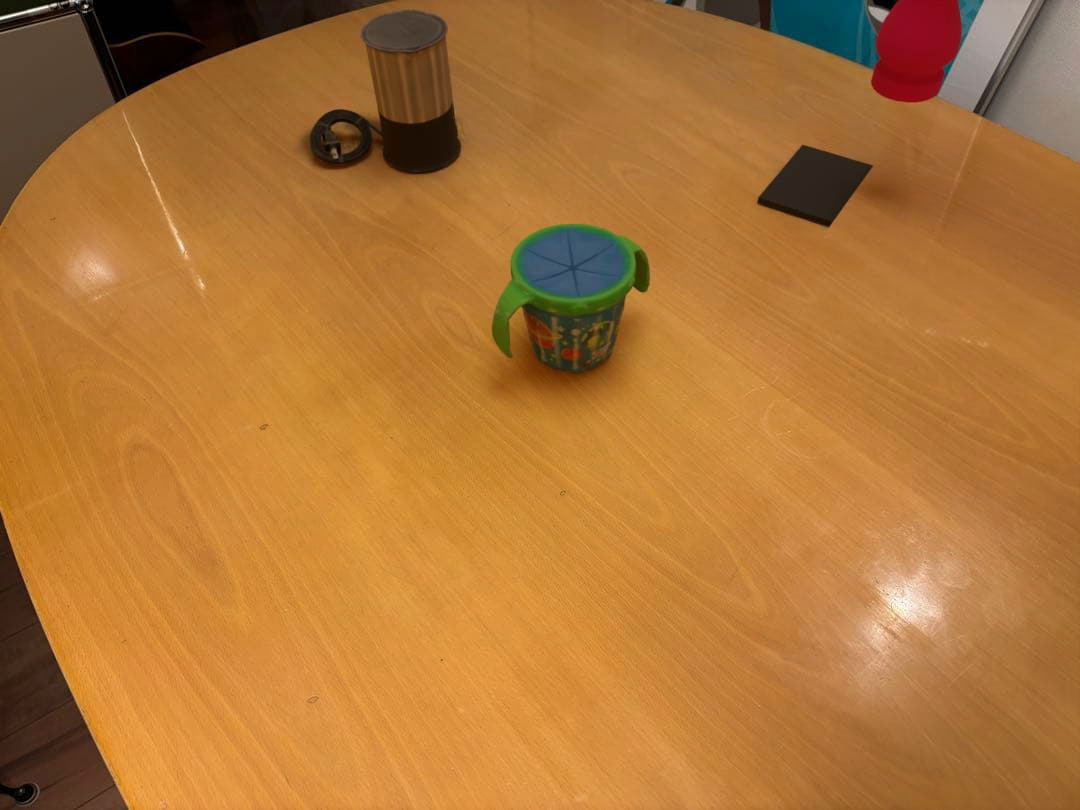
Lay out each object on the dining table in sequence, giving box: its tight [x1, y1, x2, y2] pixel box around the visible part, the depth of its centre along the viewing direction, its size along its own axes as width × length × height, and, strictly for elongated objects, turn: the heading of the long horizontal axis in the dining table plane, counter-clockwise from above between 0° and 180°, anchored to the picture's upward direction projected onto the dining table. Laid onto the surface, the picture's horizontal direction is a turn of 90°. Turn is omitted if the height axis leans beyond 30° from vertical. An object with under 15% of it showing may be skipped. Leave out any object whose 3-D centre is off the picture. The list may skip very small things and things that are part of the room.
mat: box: [757, 144, 874, 228], centre depth 93 cm, size 20×12×1 cm, turn 56°
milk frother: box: [309, 8, 462, 173], centre depth 97 cm, size 14×16×15 cm
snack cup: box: [491, 223, 651, 375], centre depth 76 cm, size 16×10×10 cm
